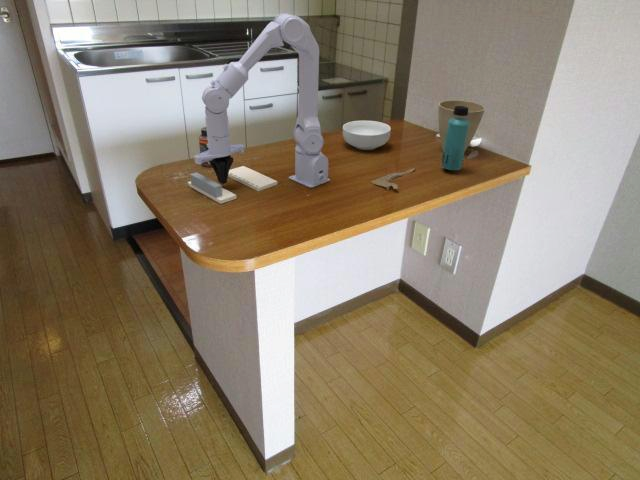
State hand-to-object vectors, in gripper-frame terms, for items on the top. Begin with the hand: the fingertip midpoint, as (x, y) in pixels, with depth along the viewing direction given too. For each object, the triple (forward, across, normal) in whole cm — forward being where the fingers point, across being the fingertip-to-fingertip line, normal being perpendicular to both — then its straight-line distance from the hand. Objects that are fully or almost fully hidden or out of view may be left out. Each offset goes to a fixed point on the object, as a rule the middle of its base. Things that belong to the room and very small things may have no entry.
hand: (222, 182), depth 126 cm
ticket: (+2, -10, 0) cm, 10 cm away
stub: (+2, +4, 0) cm, 4 cm away
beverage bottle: (+2, -60, +36) cm, 70 cm away
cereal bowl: (+2, -58, +3) cm, 58 cm away
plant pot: (+2, -77, +27) cm, 82 cm away
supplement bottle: (+2, -8, -18) cm, 20 cm away
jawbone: (+3, -42, +30) cm, 52 cm away
